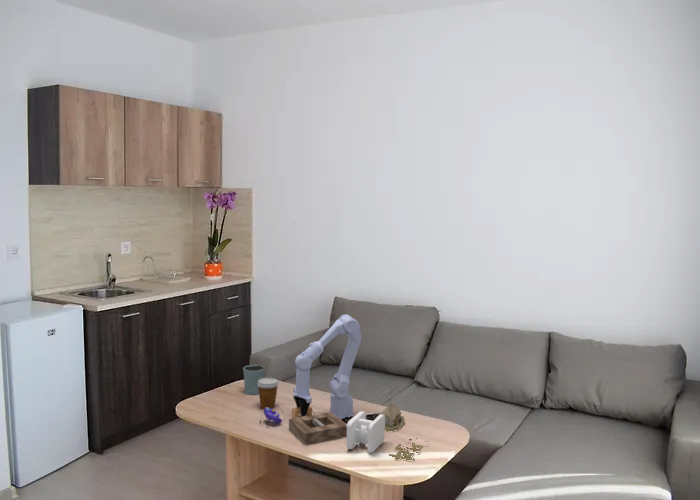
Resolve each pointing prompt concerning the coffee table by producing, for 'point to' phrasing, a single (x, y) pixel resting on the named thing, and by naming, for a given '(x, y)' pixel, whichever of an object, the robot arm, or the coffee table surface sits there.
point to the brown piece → (318, 428)
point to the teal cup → (252, 378)
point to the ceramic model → (392, 417)
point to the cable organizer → (365, 431)
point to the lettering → (405, 452)
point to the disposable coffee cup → (267, 392)
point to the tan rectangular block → (298, 411)
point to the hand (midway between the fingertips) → (302, 413)
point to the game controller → (271, 415)
